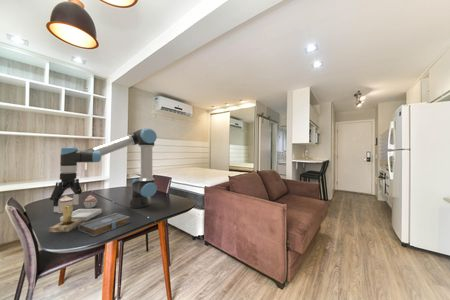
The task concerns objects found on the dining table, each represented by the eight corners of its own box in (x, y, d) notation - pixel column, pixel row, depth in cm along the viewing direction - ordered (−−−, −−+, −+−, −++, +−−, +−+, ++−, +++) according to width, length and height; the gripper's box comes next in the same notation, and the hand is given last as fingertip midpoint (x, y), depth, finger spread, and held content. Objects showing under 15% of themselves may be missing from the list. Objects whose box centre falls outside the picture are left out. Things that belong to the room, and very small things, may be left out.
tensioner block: (83, 223, 110) (83, 219, 110) (67, 231, 98) (67, 227, 98) (66, 223, 109) (66, 219, 109) (48, 232, 97) (48, 227, 97)
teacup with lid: (75, 210, 132) (75, 195, 132) (59, 214, 124) (60, 198, 124) (68, 208, 137) (68, 193, 137) (52, 211, 129) (53, 196, 129)
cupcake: (99, 207, 141) (99, 194, 141) (85, 210, 133) (85, 197, 133) (94, 204, 146) (95, 193, 146) (81, 207, 139) (81, 195, 139)
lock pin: (73, 225, 106) (73, 204, 106) (68, 228, 102) (68, 206, 102) (66, 226, 105) (66, 204, 105) (60, 229, 101) (61, 206, 101)
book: (114, 218, 119) (114, 211, 119) (130, 223, 112) (130, 215, 112) (78, 230, 100) (78, 222, 100) (94, 237, 93) (94, 228, 93)
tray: (101, 212, 128) (101, 208, 128) (86, 221, 112) (86, 216, 112) (78, 213, 127) (78, 209, 127) (59, 221, 111) (59, 217, 111)
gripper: (77, 170, 116) (76, 201, 115) (41, 175, 91) (39, 215, 91) (89, 170, 116) (88, 201, 116) (56, 175, 92) (54, 215, 91)
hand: (66, 207), depth 103 cm, fingers open, 13 cm apart
